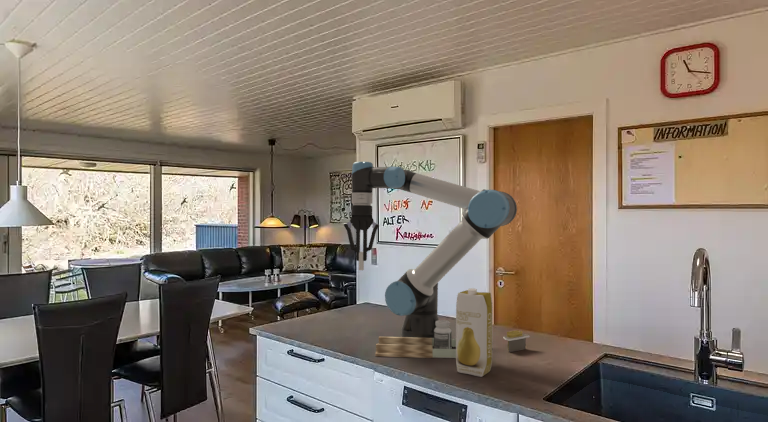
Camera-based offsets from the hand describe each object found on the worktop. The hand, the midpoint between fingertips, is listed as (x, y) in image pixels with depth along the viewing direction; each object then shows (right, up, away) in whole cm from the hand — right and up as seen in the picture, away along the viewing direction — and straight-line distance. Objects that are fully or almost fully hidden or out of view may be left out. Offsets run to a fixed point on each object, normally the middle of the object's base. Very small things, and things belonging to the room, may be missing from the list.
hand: (361, 269), depth 179 cm
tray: (+31, -25, -17) cm, 43 cm away
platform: (+52, -26, -15) cm, 60 cm away
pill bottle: (+27, -25, -18) cm, 41 cm away
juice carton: (+34, -25, -38) cm, 56 cm away
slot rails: (+15, -25, -16) cm, 33 cm away
